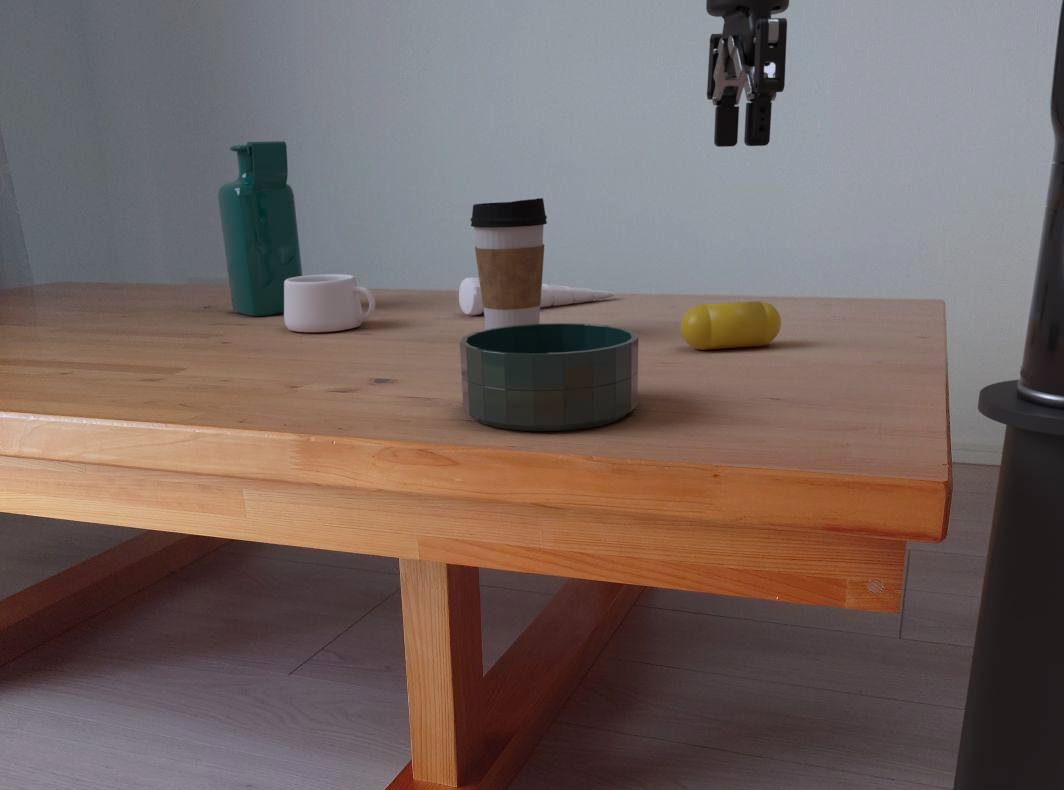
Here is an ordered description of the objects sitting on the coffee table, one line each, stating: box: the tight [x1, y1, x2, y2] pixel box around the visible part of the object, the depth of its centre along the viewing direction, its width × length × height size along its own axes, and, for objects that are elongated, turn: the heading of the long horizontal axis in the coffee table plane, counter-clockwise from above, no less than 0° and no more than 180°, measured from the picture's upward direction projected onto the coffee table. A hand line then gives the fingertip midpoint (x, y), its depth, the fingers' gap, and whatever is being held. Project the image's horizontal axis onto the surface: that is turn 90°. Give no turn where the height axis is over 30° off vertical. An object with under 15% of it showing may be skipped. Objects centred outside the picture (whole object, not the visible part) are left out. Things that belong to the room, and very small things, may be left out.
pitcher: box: [217, 140, 303, 317], centre depth 136 cm, size 10×8×22 cm
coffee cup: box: [470, 197, 548, 330], centre depth 112 cm, size 8×8×15 cm
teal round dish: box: [459, 322, 639, 432], centre depth 81 cm, size 14×14×6 cm
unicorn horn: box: [458, 276, 617, 317], centre depth 135 cm, size 5×24×5 cm, turn 116°
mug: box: [283, 273, 376, 333], centre depth 124 cm, size 12×10×6 cm
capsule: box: [680, 300, 782, 351], centre depth 105 cm, size 11×5×5 cm, turn 100°
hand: (740, 146), depth 98 cm, fingers open, 8 cm apart
